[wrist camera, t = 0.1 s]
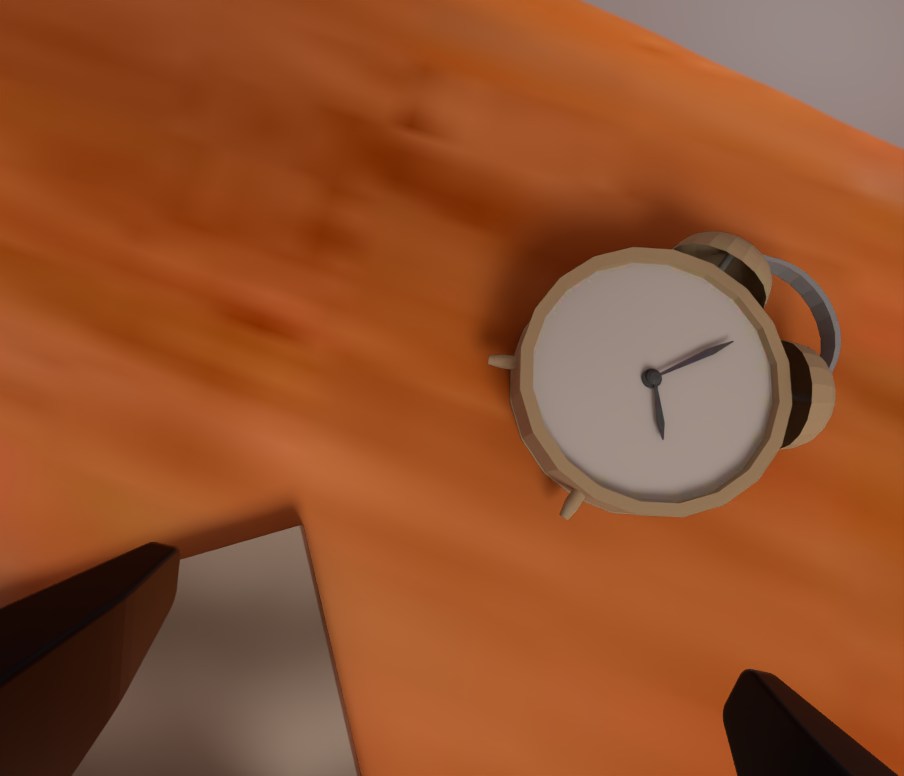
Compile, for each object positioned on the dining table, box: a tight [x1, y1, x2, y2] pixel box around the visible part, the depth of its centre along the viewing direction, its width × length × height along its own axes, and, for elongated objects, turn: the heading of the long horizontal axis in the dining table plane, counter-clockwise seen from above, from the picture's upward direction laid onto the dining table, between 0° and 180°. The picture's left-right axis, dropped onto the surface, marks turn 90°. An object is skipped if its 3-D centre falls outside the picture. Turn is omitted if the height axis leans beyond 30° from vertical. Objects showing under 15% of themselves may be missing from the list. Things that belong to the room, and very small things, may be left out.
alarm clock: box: [488, 231, 841, 520], centre depth 25 cm, size 11×5×15 cm
